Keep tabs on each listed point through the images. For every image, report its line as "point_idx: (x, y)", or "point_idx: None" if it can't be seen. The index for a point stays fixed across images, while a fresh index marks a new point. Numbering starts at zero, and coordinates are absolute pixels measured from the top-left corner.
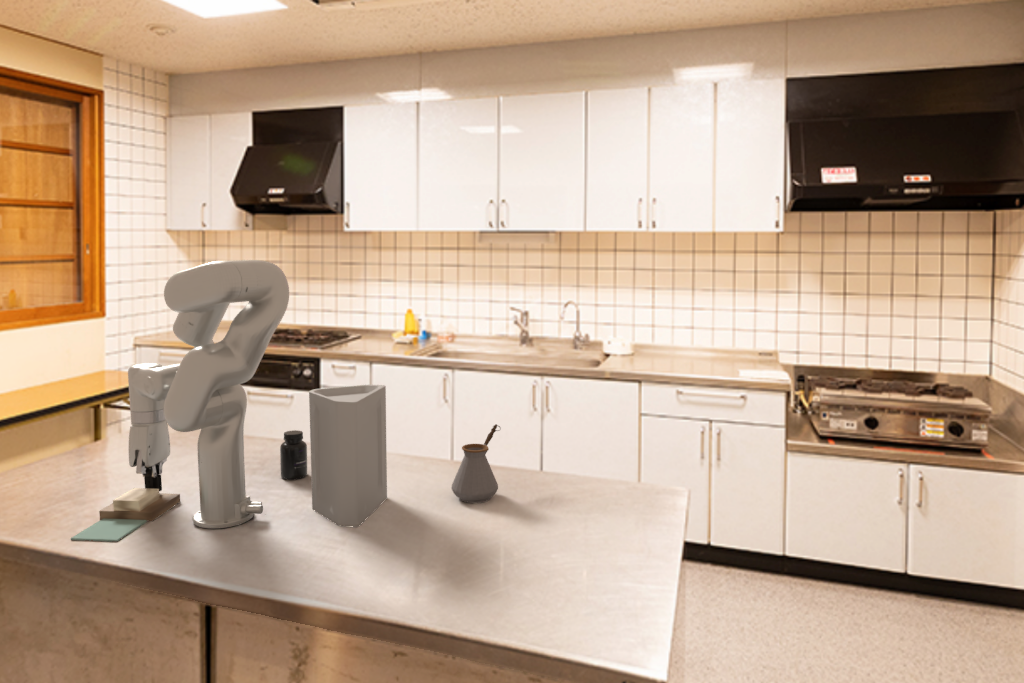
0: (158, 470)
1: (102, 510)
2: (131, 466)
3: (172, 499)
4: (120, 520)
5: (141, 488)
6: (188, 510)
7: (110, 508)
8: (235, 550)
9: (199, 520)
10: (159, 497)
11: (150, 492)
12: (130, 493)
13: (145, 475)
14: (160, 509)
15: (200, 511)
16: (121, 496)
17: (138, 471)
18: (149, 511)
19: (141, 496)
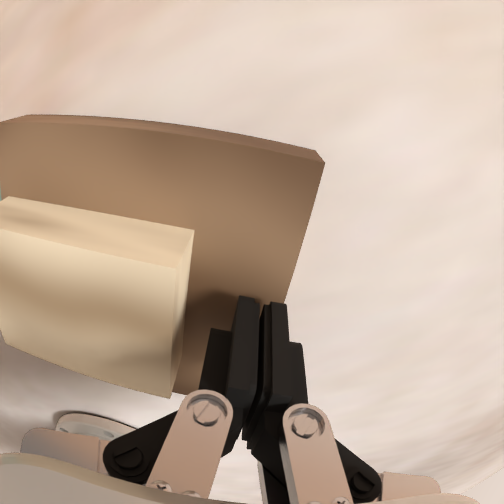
0: (260, 473)
1: (3, 135)
2: (11, 458)
3: (183, 392)
4: None
5: (165, 321)
6: (161, 403)
7: (25, 163)
8: (20, 436)
9: (65, 428)
10: (200, 351)
11: (107, 373)
12: (65, 280)
13: (164, 423)
14: None
15: (115, 435)
16: (13, 245)
17: (30, 452)
18: None
19: (47, 345)
